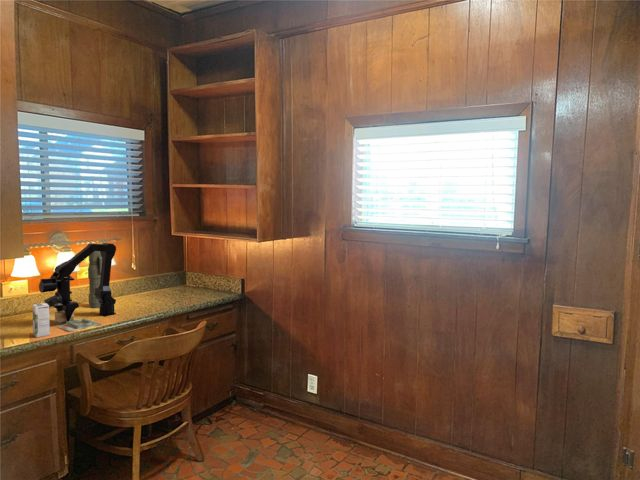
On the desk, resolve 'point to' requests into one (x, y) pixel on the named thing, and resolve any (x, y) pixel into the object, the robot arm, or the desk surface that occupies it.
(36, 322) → the syrup box
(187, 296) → the desk surface
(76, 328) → the socket plate
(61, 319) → the plug block
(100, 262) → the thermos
